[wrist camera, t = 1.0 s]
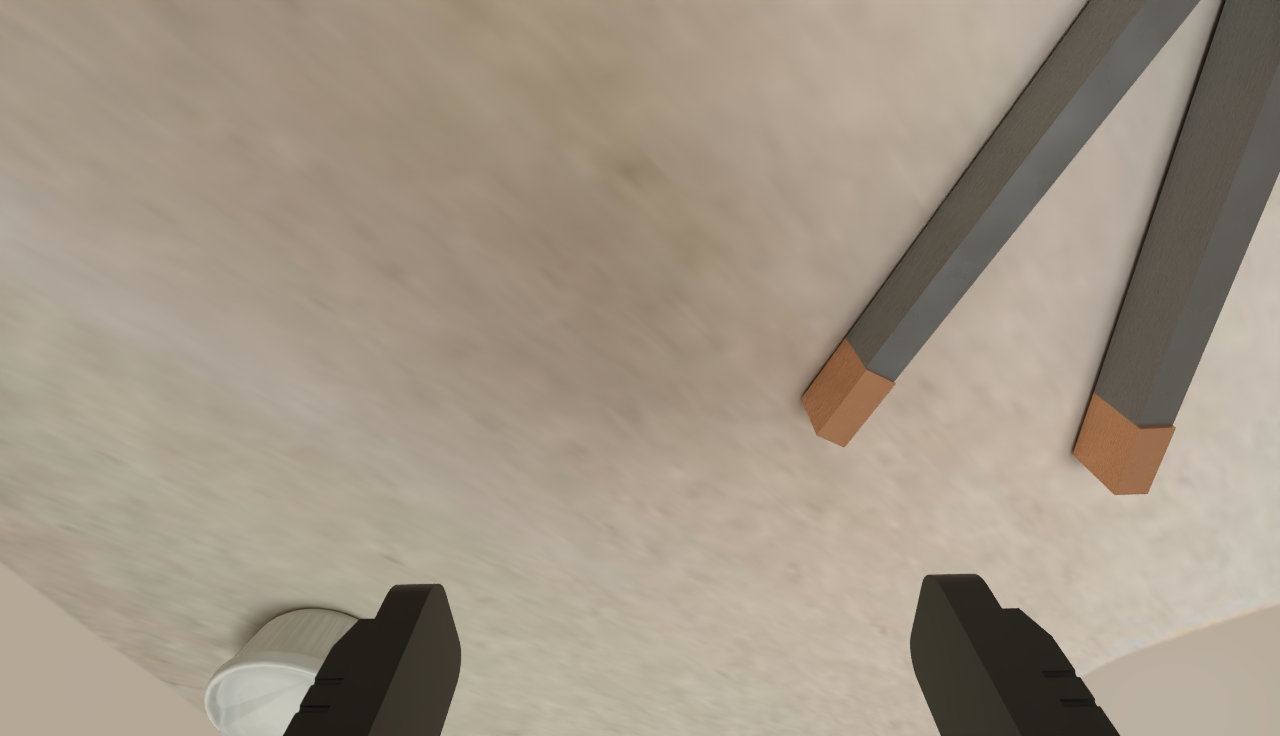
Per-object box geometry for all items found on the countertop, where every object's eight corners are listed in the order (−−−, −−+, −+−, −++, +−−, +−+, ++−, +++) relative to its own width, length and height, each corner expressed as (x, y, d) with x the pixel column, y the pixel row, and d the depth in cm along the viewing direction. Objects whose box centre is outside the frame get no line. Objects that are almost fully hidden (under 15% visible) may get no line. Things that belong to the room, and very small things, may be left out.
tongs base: (1229, -205, 20) (1343, -254, 17) (1342, -215, 20) (1479, -268, 17) (1033, 453, 33) (1075, 499, 30) (1100, 450, 33) (1150, 496, 30)
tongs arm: (1175, -116, 21) (1261, -143, 18) (1207, -92, 22) (1296, -114, 19) (801, 398, 32) (816, 435, 29) (826, 410, 32) (844, 447, 29)
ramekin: (259, 575, 39) (206, 646, 35) (425, 622, 41) (395, 695, 37) (243, 673, 44) (195, 746, 40) (392, 711, 46) (362, 785, 42)
